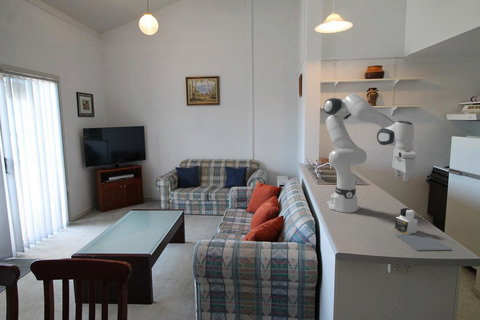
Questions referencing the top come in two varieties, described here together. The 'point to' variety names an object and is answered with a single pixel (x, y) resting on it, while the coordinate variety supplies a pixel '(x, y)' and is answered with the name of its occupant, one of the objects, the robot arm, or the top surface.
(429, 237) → the dark rubber mat
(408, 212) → the medicine bottle
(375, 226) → the top surface
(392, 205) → the top surface
